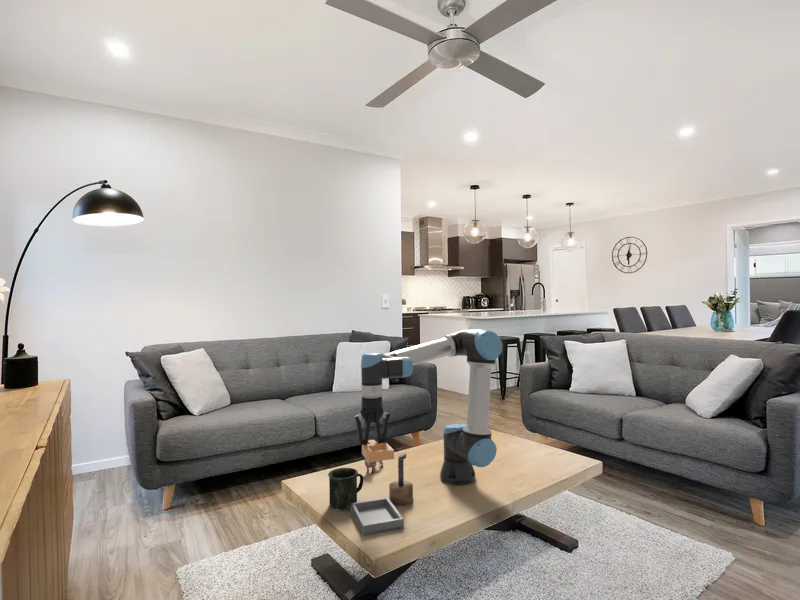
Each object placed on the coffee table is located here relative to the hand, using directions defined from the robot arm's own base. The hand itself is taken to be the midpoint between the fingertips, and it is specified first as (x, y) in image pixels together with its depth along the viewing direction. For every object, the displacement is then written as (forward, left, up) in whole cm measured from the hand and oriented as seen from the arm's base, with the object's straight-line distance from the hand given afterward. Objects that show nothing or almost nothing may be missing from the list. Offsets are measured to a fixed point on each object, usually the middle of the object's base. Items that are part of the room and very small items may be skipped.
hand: (372, 461), depth 158 cm
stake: (-13, -6, -19) cm, 24 cm away
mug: (+7, -11, -19) cm, 23 cm away
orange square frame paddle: (0, +4, +4) cm, 6 cm away
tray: (0, +5, -19) cm, 19 cm away
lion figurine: (-12, -40, -19) cm, 46 cm away
